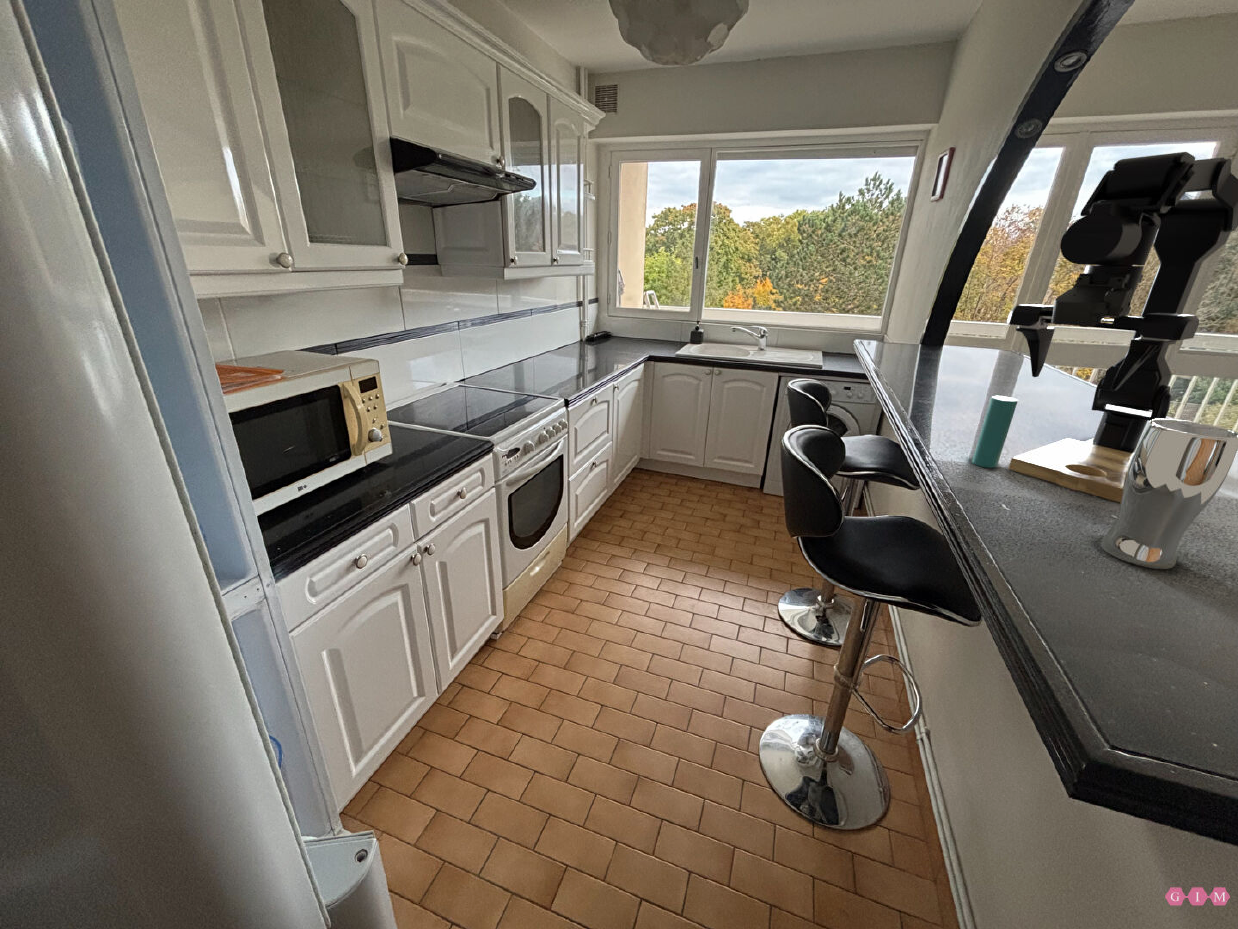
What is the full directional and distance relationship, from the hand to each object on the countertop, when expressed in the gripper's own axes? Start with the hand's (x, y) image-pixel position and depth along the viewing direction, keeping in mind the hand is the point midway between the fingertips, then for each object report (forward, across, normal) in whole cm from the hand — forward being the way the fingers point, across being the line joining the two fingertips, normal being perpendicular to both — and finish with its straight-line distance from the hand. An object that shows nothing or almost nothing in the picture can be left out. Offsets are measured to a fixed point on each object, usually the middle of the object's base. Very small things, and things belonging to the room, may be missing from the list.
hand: (1072, 383), depth 72 cm
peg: (+15, -7, -2) cm, 16 cm away
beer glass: (+15, +16, -17) cm, 27 cm away
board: (+15, +3, +9) cm, 18 cm away
